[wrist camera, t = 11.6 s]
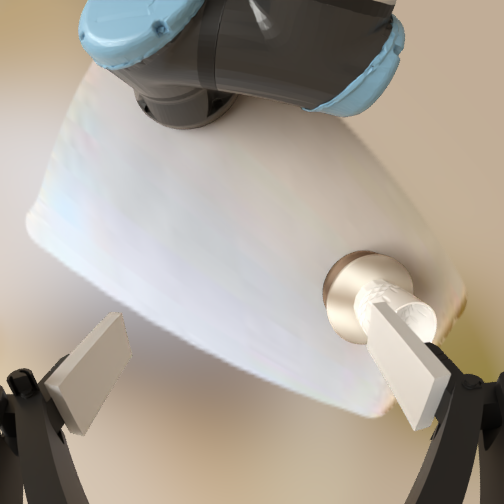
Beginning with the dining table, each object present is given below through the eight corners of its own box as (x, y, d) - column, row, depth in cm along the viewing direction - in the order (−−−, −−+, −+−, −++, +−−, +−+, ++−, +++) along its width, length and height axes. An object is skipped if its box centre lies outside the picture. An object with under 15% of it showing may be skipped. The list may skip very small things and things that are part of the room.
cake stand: (323, 245, 41) (333, 254, 36) (402, 248, 41) (420, 256, 36) (315, 329, 44) (322, 346, 39) (389, 325, 44) (403, 341, 39)
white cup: (355, 272, 36) (386, 300, 27) (406, 276, 37) (445, 302, 27) (343, 327, 38) (367, 367, 28) (393, 328, 38) (424, 364, 29)
